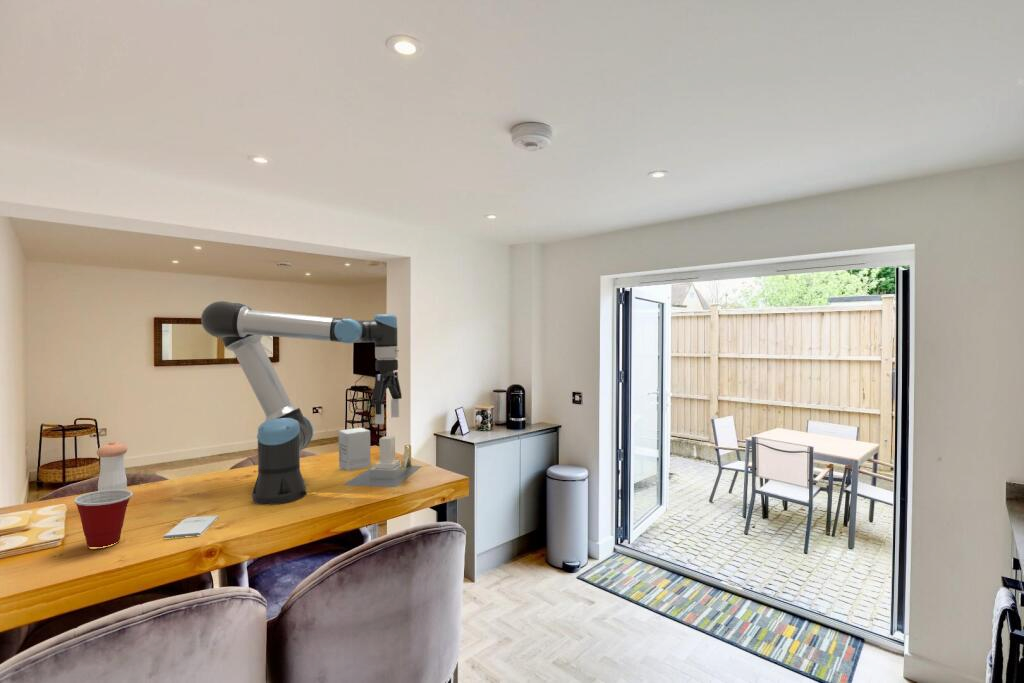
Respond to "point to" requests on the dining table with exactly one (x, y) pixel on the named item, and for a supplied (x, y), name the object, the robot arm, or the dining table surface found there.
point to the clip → (406, 457)
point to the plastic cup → (103, 515)
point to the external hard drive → (191, 527)
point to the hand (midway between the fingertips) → (387, 420)
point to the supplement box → (354, 449)
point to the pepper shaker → (112, 467)
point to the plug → (387, 453)
